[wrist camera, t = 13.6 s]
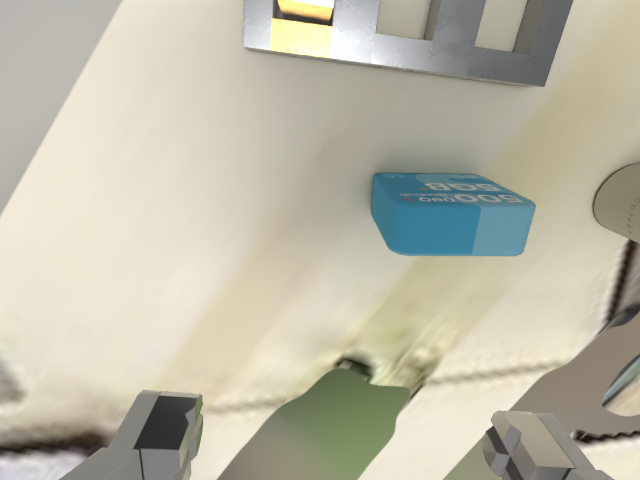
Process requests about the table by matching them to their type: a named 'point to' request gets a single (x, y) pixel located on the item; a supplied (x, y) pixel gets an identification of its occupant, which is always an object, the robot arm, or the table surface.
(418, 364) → the table surface
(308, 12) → the steel peg
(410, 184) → the data package
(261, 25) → the hole rail
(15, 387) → the table surface
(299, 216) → the table surface
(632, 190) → the travel mug
